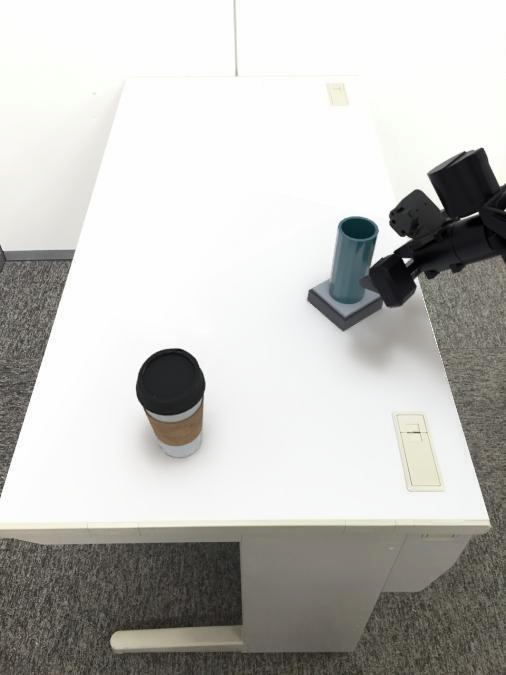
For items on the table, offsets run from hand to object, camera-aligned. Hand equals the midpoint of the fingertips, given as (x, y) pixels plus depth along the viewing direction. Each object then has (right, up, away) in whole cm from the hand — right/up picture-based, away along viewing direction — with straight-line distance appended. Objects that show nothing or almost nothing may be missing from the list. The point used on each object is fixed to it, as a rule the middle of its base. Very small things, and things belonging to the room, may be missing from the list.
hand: (378, 268), depth 81 cm
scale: (-3, -5, +10) cm, 12 cm away
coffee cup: (-29, -25, -7) cm, 39 cm away
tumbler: (-3, -3, +8) cm, 9 cm away
